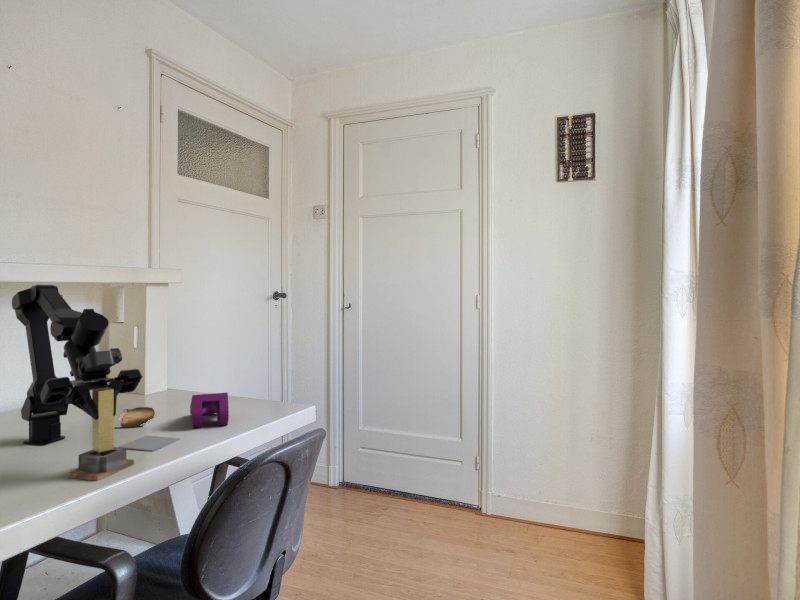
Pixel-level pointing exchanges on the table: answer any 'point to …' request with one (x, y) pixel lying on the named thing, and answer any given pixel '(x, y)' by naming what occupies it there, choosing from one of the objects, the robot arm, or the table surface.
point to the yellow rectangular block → (103, 420)
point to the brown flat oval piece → (135, 416)
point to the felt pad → (149, 443)
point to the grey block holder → (101, 464)
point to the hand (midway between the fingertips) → (105, 417)
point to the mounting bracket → (209, 408)
